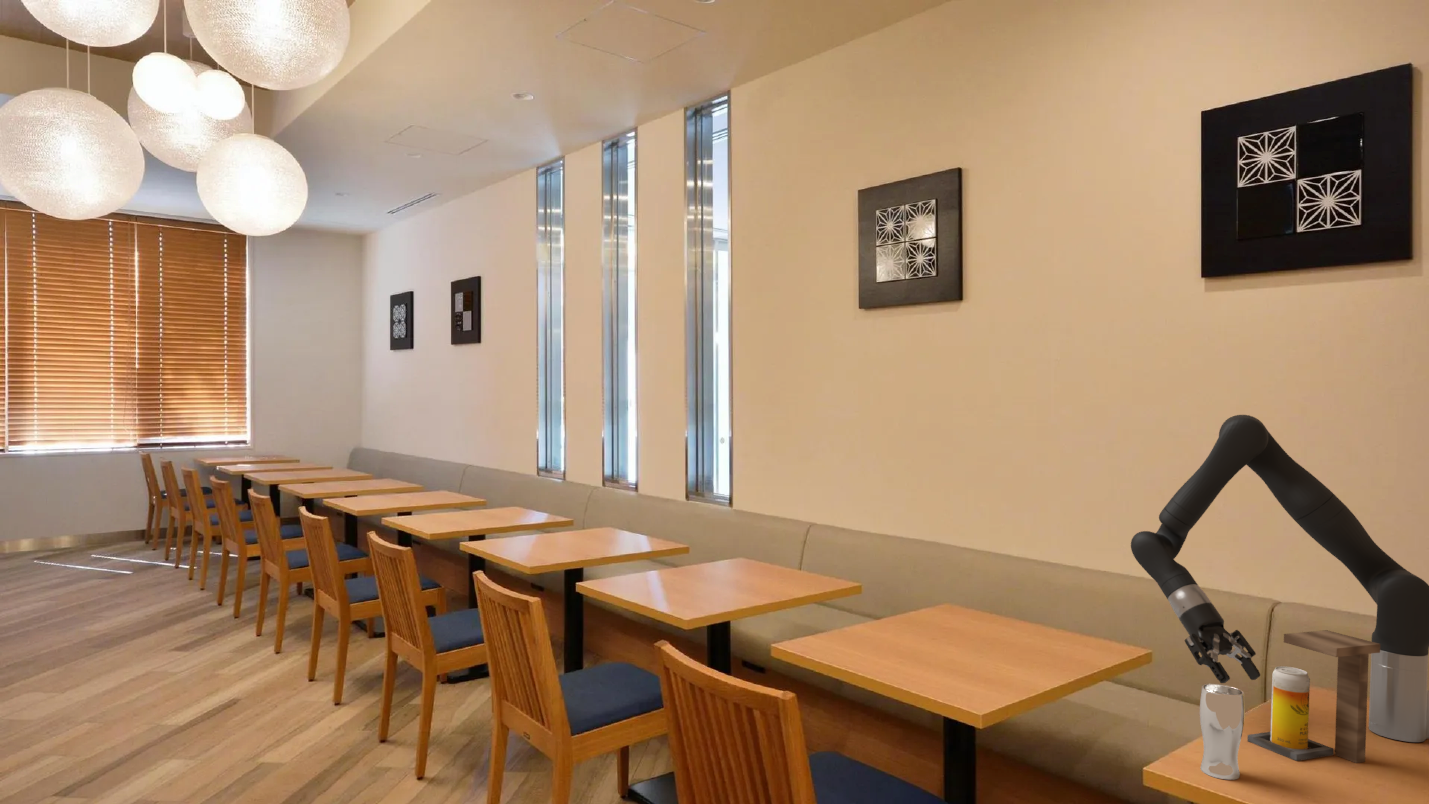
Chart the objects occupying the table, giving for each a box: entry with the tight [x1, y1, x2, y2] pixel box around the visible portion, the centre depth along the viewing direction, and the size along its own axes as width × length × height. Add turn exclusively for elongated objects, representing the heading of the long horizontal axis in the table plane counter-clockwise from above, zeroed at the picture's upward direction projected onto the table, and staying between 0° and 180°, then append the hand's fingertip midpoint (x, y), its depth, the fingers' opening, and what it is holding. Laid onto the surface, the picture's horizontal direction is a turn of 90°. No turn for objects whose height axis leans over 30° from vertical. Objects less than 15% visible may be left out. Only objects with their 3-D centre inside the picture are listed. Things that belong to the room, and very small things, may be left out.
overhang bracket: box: [1247, 629, 1380, 764], centre depth 169 cm, size 13×16×23 cm
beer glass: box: [1199, 683, 1246, 781], centre depth 158 cm, size 7×7×15 cm
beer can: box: [1270, 665, 1311, 751], centre depth 172 cm, size 6×6×15 cm
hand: (1241, 679), depth 181 cm, fingers open, 8 cm apart
